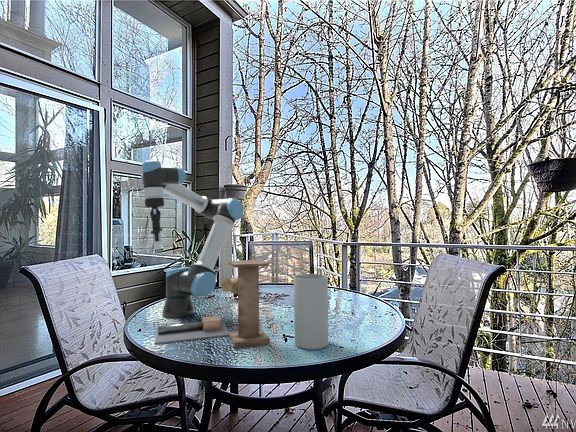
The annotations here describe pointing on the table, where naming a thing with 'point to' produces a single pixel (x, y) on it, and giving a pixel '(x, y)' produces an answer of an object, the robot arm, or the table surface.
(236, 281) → the decorative spool
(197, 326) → the wooden mallet
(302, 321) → the cylinder vase
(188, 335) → the rubber mat
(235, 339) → the bobbin stand
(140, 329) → the table surface
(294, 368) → the table surface
